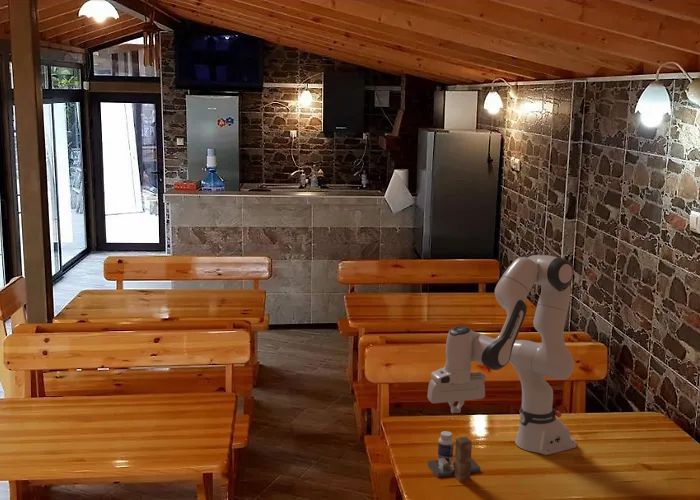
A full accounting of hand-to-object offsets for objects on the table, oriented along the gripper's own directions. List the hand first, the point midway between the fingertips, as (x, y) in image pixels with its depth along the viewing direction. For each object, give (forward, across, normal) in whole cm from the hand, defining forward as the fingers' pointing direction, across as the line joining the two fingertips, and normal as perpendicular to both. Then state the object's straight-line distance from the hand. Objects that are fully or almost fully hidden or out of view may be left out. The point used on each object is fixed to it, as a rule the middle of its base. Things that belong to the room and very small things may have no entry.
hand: (455, 412), depth 261 cm
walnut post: (+21, 0, +7) cm, 22 cm away
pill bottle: (+21, 0, -8) cm, 23 cm away
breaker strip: (+21, 0, 0) cm, 21 cm away
